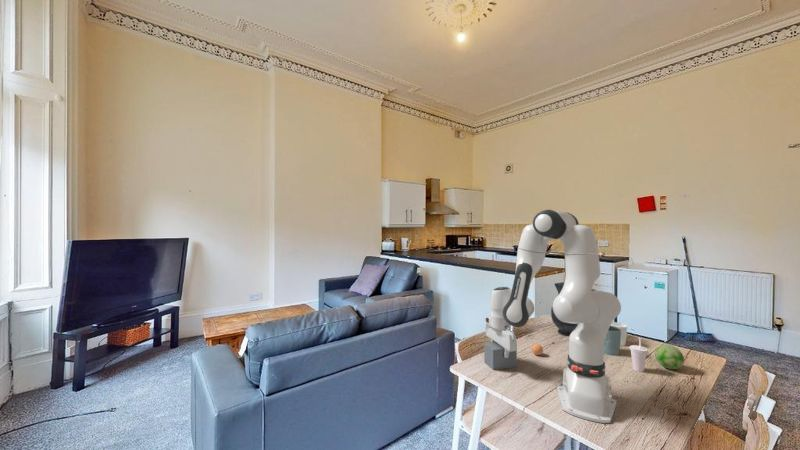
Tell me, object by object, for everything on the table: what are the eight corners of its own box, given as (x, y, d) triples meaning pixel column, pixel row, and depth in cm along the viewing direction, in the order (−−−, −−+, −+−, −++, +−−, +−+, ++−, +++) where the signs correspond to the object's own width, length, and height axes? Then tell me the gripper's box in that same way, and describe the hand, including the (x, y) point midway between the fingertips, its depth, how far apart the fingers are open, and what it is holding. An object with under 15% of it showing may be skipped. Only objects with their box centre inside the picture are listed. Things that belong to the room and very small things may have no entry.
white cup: (605, 341, 168) (605, 322, 168) (616, 339, 170) (616, 321, 170) (619, 347, 160) (619, 327, 160) (630, 345, 163) (630, 326, 163)
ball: (542, 357, 148) (542, 347, 148) (531, 355, 150) (531, 345, 150) (543, 353, 152) (543, 343, 152) (532, 351, 155) (532, 341, 155)
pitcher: (558, 326, 192) (559, 277, 191) (596, 335, 176) (597, 282, 175) (545, 332, 181) (546, 281, 180) (584, 343, 165) (585, 287, 164)
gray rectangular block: (493, 369, 136) (493, 349, 136) (484, 362, 143) (484, 343, 143) (516, 366, 139) (516, 347, 139) (506, 359, 146) (507, 340, 146)
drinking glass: (621, 357, 148) (622, 332, 148) (596, 352, 153) (596, 328, 153) (620, 350, 157) (620, 326, 156) (596, 345, 162) (596, 322, 162)
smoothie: (651, 374, 132) (651, 341, 132) (634, 372, 134) (634, 340, 133) (642, 367, 139) (642, 335, 138) (626, 365, 140) (626, 334, 140)
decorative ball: (653, 368, 138) (653, 345, 137) (656, 360, 145) (656, 339, 145) (683, 376, 131) (683, 352, 131) (684, 368, 138) (685, 345, 138)
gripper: (521, 330, 131) (520, 362, 132) (494, 315, 151) (494, 343, 151) (507, 331, 130) (507, 364, 130) (483, 316, 149) (482, 344, 150)
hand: (500, 353), depth 141 cm, fingers closed on gray rectangular block, 7 cm apart
